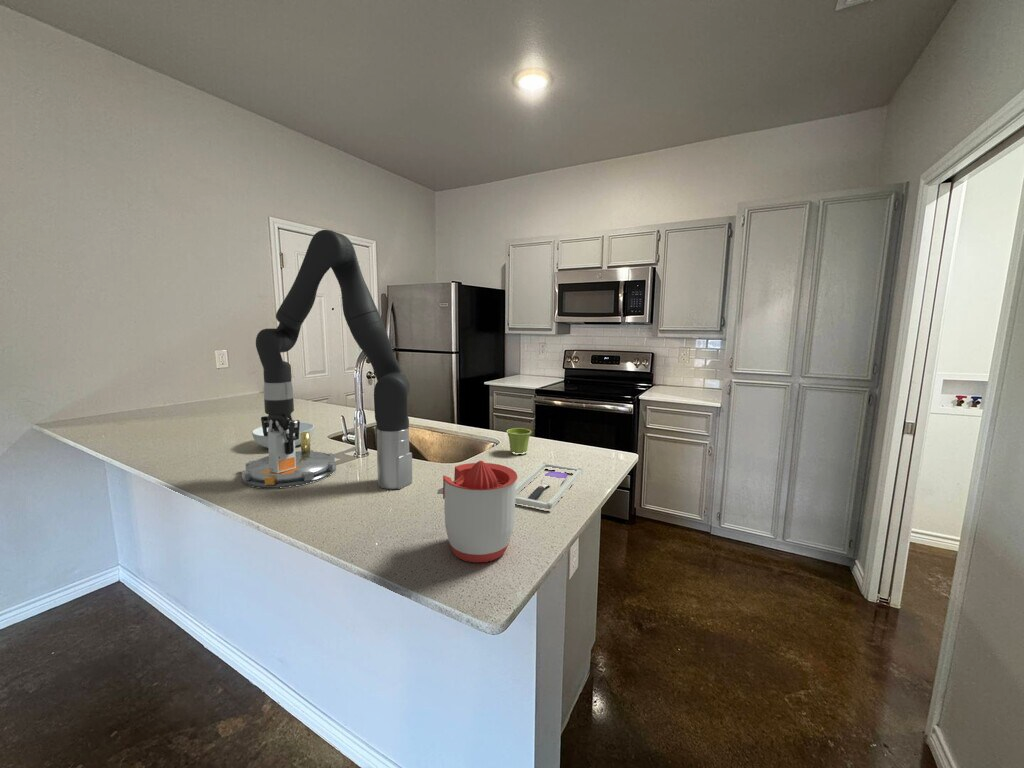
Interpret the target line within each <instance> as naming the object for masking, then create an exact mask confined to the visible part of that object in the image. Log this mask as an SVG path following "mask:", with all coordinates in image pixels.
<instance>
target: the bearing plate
mask: <svg viewBox="0 0 1024 768" xmlns="http://www.w3.org/2000/svg"><path fill="white" fill-rule="evenodd" d="M333 462H335V461H333ZM335 470H336V471H337V467H336V468H335V469H334V470H333V471H327V472H325V473H323V474H321V475H318V476H315V477H314V479H311V480H307V481H304V480H300V481H294V482H285V483H276V484H275V485H265V483H262V482H256V481H253V480H246V481H245V480H244V479H242V481H243V483H244V482H245V483H246V484H245V483H244V484H245V485H247V486H249V485H250V486H249V487H251V486H254V487H253V488H256V487H260V488H259V489H264V488H279V489H281V488H280V487H289V486H296V485H302V484H306V483H310V482H313V481H317V480H320V479H323V478H325V477H327V476H329V475H330V474H332V473H333V472H334V471H335ZM336 471H335V472H336ZM335 472H334V473H335ZM334 473H333V474H334ZM333 474H332V475H333ZM330 476H331V475H330ZM330 476H329V477H330ZM327 478H328V477H327ZM325 479H326V478H325ZM323 480H324V479H323ZM320 481H321V480H320ZM317 482H318V481H317ZM302 486H303V485H302Z"/></svg>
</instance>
